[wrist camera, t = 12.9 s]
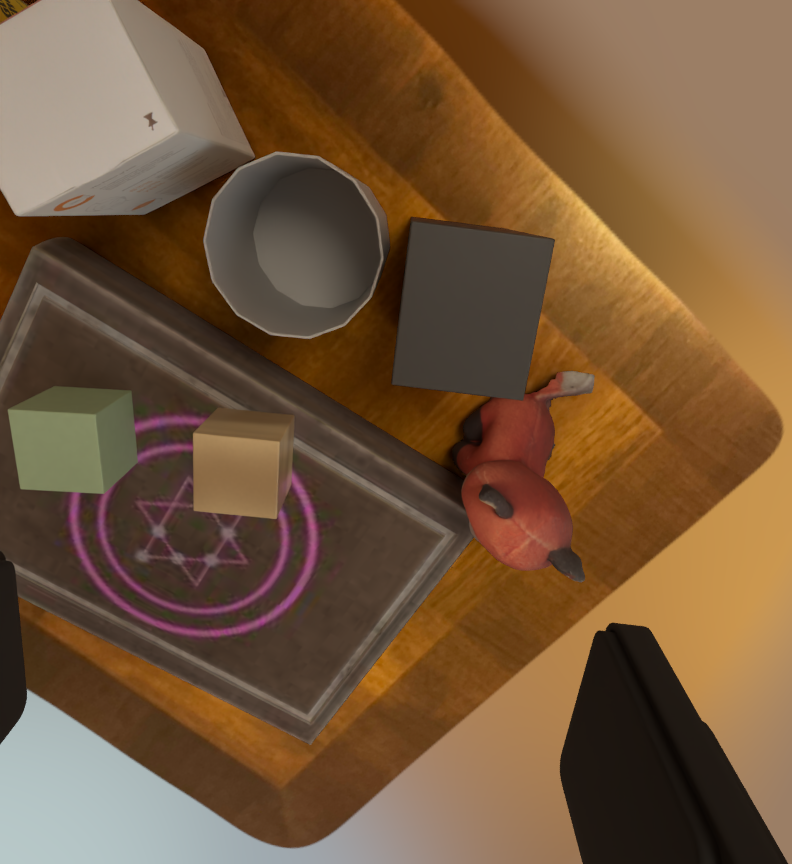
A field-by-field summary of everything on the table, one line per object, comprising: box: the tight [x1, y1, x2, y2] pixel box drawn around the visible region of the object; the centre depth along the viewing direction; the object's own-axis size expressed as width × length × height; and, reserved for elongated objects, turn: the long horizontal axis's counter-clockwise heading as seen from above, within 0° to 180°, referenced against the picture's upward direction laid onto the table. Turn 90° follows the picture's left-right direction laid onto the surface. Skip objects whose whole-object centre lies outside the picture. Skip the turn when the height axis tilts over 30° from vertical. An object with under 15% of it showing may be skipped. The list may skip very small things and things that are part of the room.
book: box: [0, 237, 474, 745], centre depth 42 cm, size 30×22×5 cm
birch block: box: [193, 408, 295, 519], centre depth 36 cm, size 5×5×5 cm
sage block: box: [8, 386, 138, 494], centre depth 36 cm, size 5×5×5 cm
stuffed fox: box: [452, 371, 594, 582], centre depth 37 cm, size 8×11×12 cm
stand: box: [391, 217, 555, 401], centre depth 33 cm, size 7×6×14 cm
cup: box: [203, 152, 390, 339], centre depth 34 cm, size 8×8×10 cm
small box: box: [0, 0, 255, 216], centre depth 31 cm, size 8×6×13 cm
